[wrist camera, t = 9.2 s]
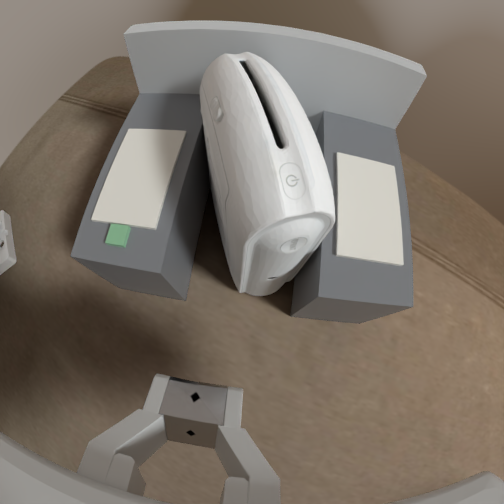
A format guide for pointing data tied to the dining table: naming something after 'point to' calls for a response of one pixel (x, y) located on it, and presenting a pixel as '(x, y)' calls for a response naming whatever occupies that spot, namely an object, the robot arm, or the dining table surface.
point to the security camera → (6, 243)
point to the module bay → (197, 173)
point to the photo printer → (263, 172)
